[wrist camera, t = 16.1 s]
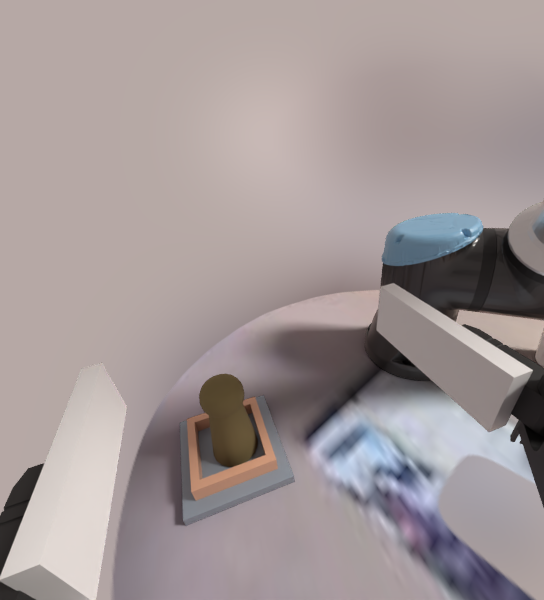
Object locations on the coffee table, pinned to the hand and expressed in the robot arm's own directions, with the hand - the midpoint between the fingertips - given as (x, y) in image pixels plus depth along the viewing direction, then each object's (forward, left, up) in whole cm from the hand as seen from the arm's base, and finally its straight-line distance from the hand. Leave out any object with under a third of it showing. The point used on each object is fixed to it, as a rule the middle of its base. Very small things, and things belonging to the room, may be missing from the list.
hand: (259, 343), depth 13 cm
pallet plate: (+4, -14, -28) cm, 31 cm away
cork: (+3, -14, -27) cm, 30 cm away
